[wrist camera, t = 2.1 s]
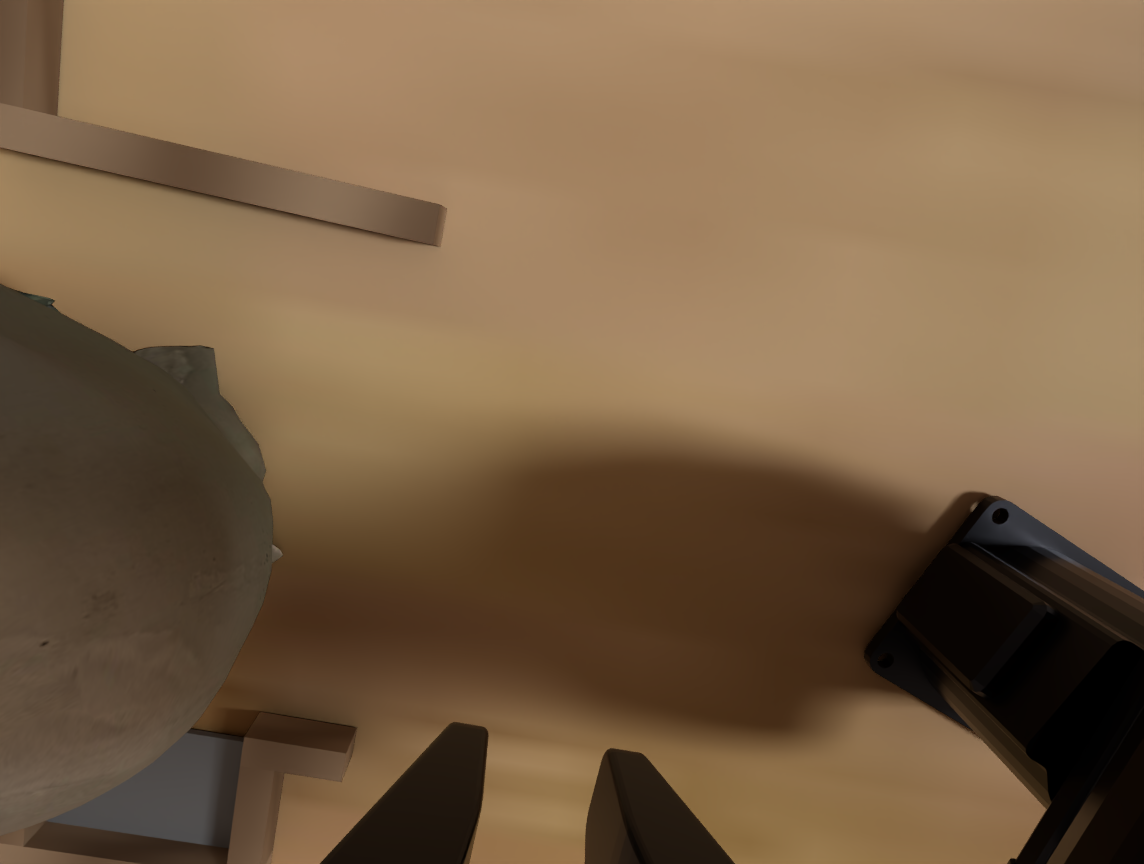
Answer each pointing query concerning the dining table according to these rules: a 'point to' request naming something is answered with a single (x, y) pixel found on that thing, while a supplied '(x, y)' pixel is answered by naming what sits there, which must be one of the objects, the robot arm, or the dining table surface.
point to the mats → (173, 794)
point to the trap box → (30, 125)
